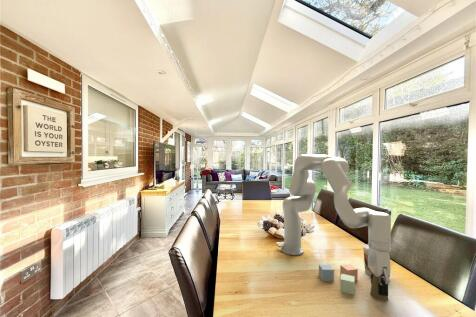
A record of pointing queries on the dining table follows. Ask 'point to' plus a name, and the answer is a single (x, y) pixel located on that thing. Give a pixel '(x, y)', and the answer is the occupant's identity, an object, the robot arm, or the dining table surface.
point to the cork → (375, 289)
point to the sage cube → (347, 283)
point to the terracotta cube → (349, 271)
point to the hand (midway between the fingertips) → (379, 289)
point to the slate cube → (326, 272)
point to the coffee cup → (366, 259)
